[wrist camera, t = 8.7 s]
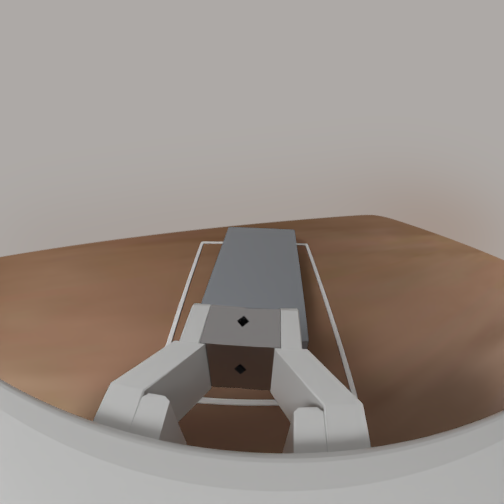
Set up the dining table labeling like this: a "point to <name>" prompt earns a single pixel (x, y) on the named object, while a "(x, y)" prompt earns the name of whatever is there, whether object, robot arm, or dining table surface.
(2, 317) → the dining table surface
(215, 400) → the white wire frame
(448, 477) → the robot arm
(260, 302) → the tile
